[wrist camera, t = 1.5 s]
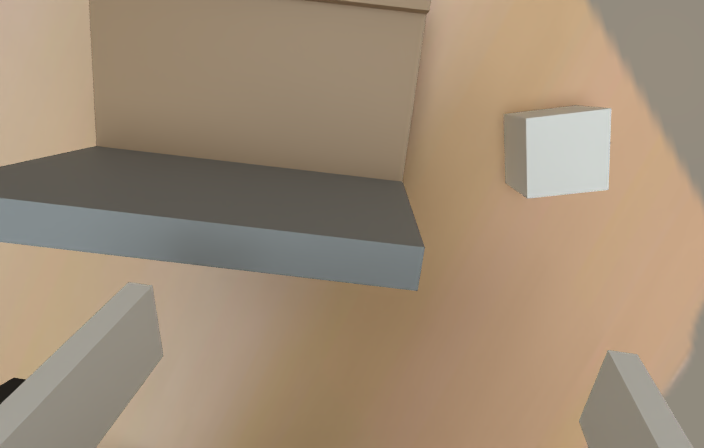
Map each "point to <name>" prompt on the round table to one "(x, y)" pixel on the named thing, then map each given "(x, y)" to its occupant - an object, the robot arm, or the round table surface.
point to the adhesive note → (557, 150)
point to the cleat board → (239, 141)
